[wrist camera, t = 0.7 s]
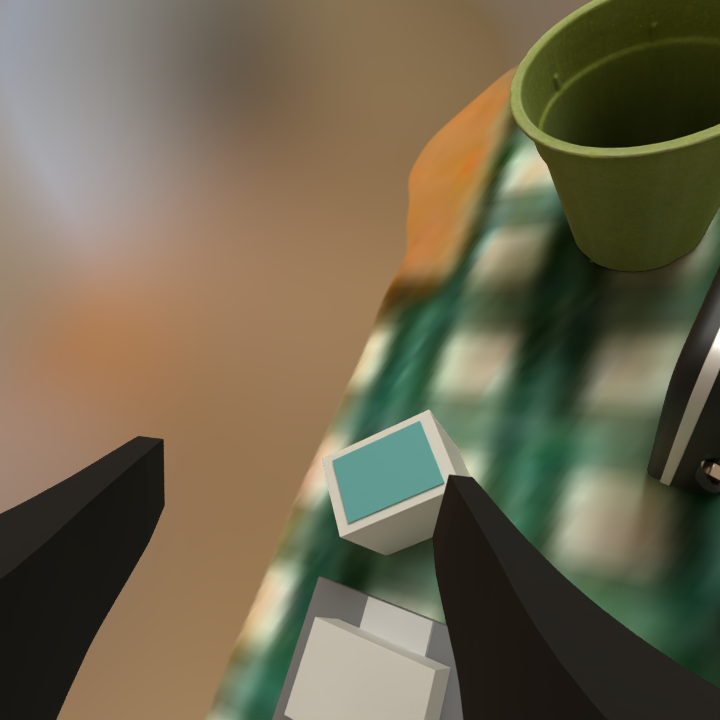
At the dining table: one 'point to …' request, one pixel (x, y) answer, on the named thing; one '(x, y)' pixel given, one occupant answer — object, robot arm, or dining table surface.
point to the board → (369, 662)
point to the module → (393, 484)
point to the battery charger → (693, 408)
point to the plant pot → (629, 125)
